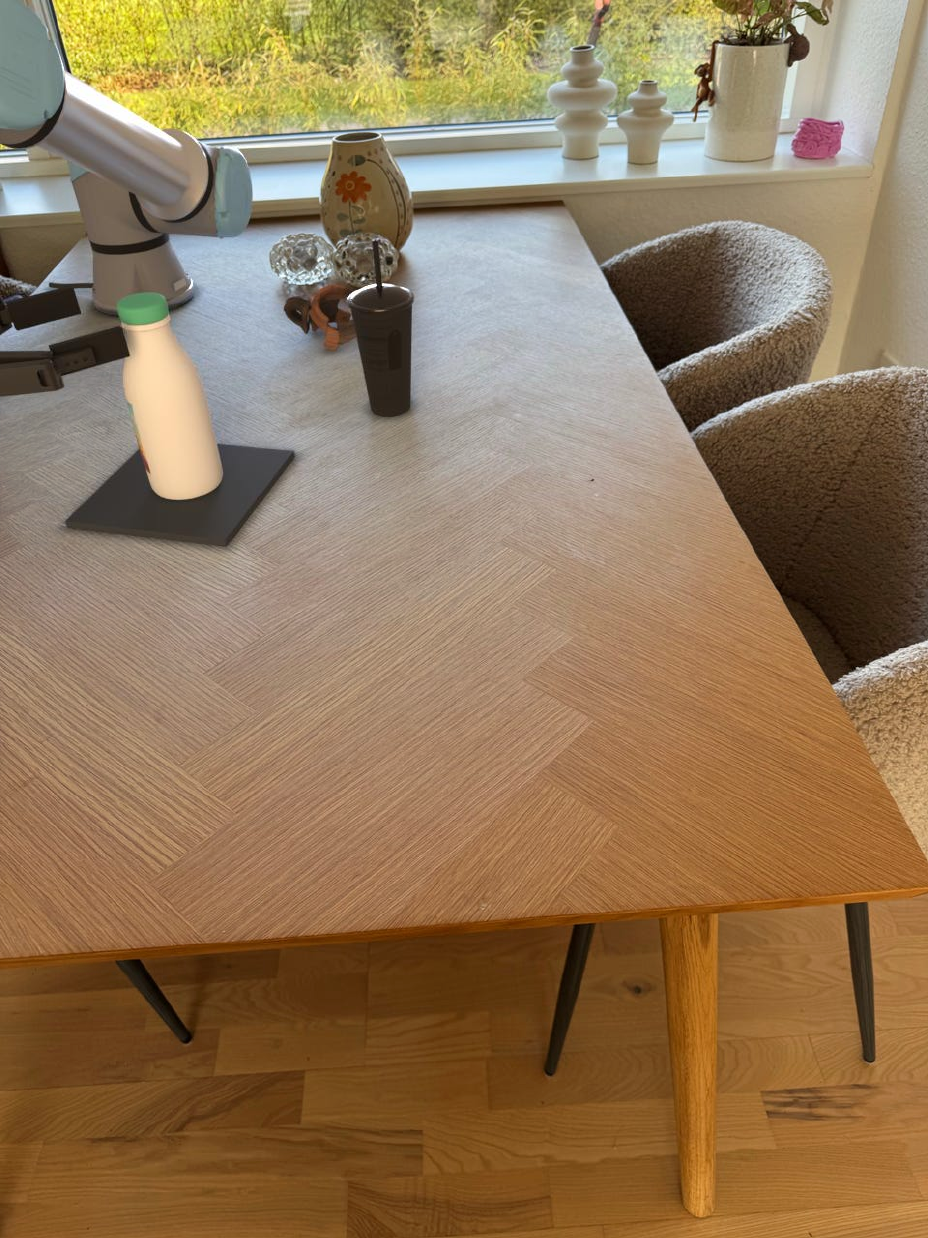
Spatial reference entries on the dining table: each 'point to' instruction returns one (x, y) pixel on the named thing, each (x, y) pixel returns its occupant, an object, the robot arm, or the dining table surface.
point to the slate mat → (196, 520)
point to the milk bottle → (167, 403)
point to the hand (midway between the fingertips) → (100, 319)
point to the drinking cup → (384, 341)
